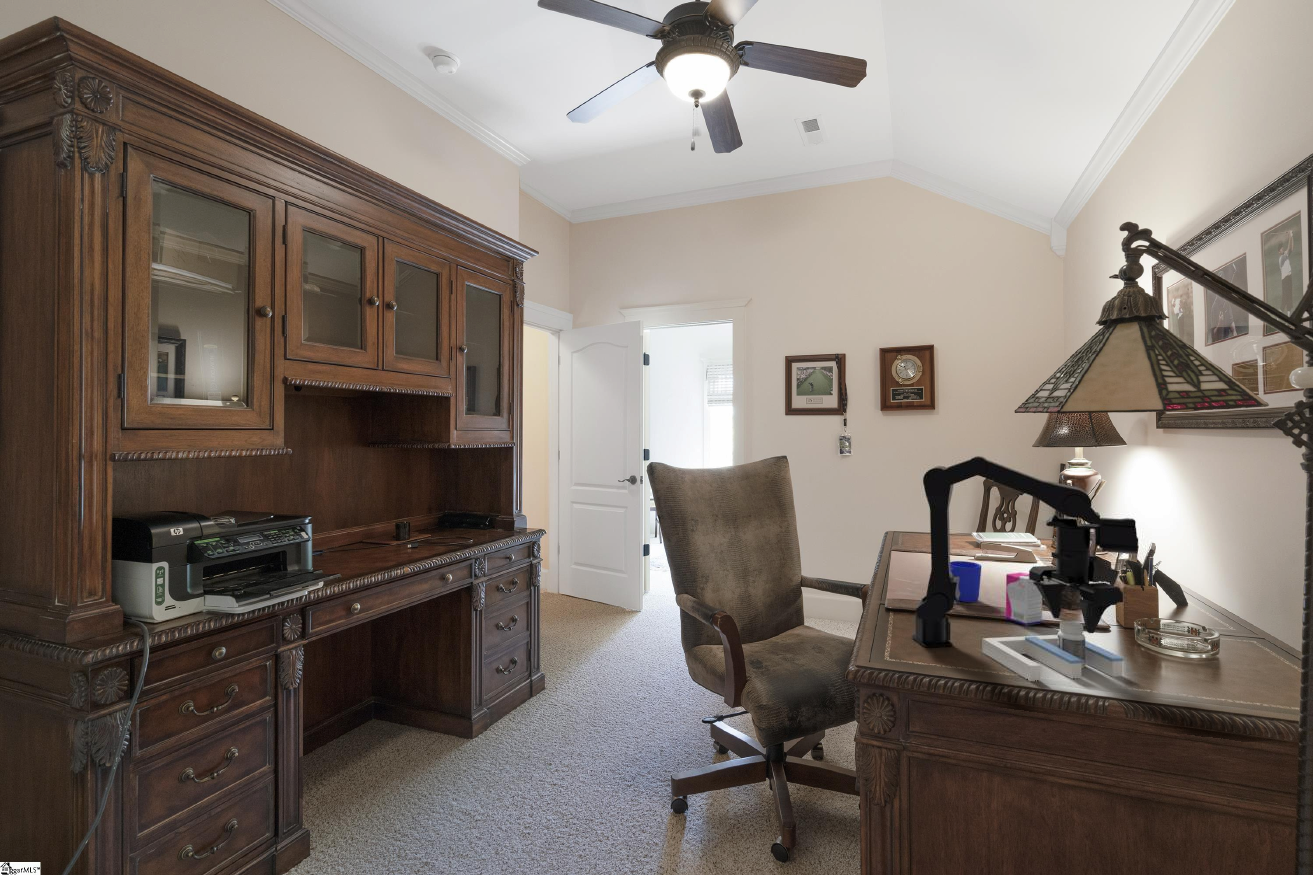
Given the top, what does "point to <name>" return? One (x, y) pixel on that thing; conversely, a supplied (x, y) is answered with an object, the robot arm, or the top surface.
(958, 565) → the mug
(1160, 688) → the top surface
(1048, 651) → the white shelf frame
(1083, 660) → the pill bottle
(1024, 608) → the supplement box
